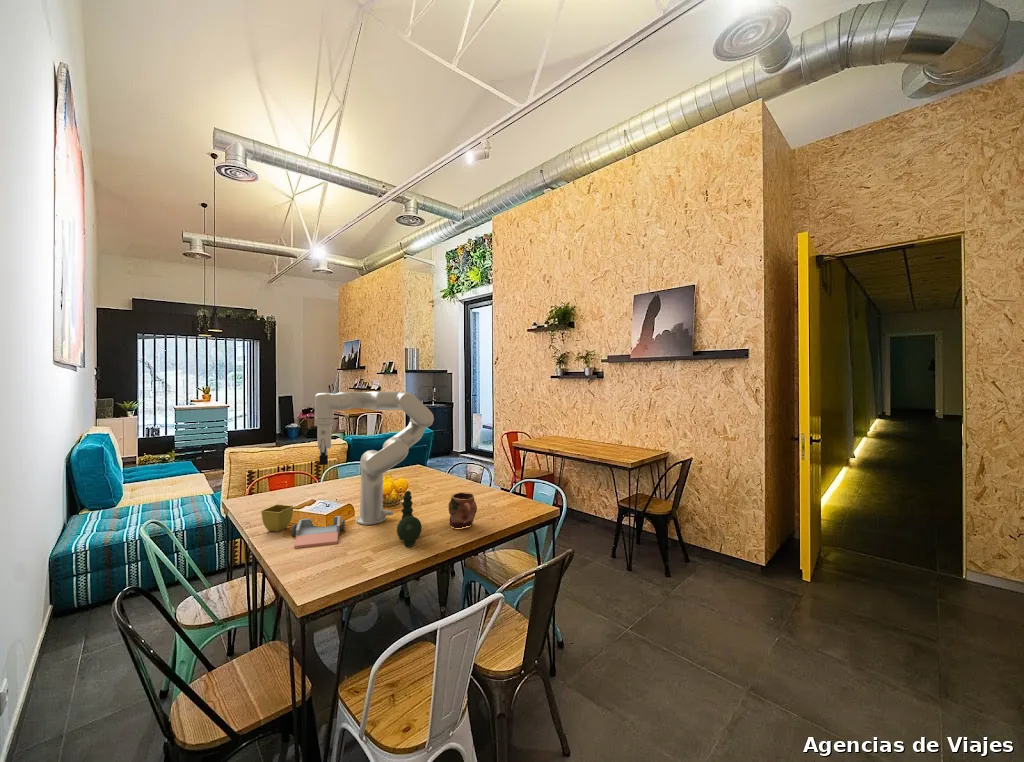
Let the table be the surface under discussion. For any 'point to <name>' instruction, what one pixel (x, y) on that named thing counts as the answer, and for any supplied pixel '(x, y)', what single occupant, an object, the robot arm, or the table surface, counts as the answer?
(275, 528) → the flower pot
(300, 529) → the trailer
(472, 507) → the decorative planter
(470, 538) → the table surface
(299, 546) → the panel
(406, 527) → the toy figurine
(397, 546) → the table surface
